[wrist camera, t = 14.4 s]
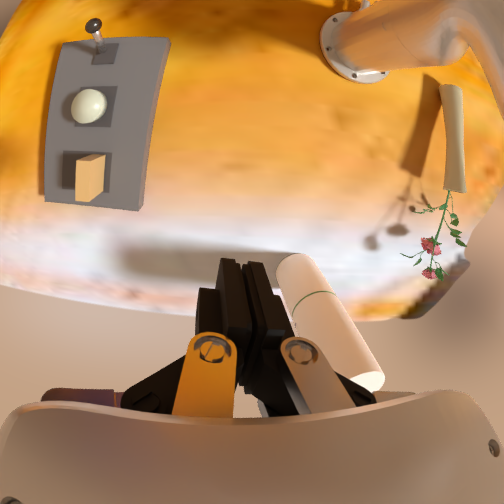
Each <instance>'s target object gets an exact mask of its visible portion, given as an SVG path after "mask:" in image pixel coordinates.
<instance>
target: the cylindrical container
mask: <svg viewBox="0 0 504 504" xmlns="http://www.w3.org/2000/svg"><path fill="white" fill-rule="evenodd" d="M276 278H277V281H278V284H279V286H280V289H281V292H282V294H283V297H284V299H285V302H286V304H287V307H288V310H289V312H290V315H291V317H292V320H293V323H294V325H295V328H296V330H297V333H298V335H299V337H302V338H306V339H308V340H310V341H312V342H314V343H315V344H316V345H317V346H318V347H319V348H320V349H321V351H322V353H323V354H324V356H325V357H326V359H327V361H328V362H329V364H330V365H331V367H332V369H333V370H334V371H335V372H337V373H339V374H341V375H342V376H344V377H346V378H348V379H350V380H351V381H353V382H355V383H357V384H359V385H360V386H362V387H364V388H366V389H367V390H369V391H370V392H371V393H372V392H373V391H378V390H379V389H380V388H381V386H382V385H383V383H384V381H385V376H384V374H383V372H382V370H381V368H380V366H379V365H378V363H377V361H376V360H375V358H374V356H373V355H372V353H371V352H370V349H369V348H368V346H367V344H366V343H365V341H364V339H363V338H362V336H361V334H360V333H359V331H358V330H357V328H356V326H355V325H354V323H353V321H352V320H351V318H350V316H349V315H348V313H347V312H346V310H345V308H344V307H343V305H342V304H341V302H340V300H339V299H338V297H337V296H336V294H335V293H334V291H333V289H332V288H331V286H330V285H329V283H328V282H327V280H326V279H325V277H324V276H323V274H322V272H321V271H320V269H319V268H318V266H317V265H316V263H315V262H314V260H313V259H312V258H311V257H310V256H308V255H306V254H301V253H297V254H292V255H290V256H288V257H286V258H285V259H283V260H282V261H281V263H280V264H279V265H278V267H277V270H276Z"/></svg>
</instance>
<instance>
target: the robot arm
mask: <svg viewBox="0 0 504 504" xmlns="http://www.w3.org/2000/svg"><path fill="white" fill-rule="evenodd" d="M320 46H321V50H322V52H323V55H324V57H325V58H326V60H327V62H328V63H329V64H330V65H331V67H332V68H333V69H334V70H335V71H336V72H337V73H338V74H340V75H341V76H343V77H344V78H346V79H348V80H350V81H352V82H356V83H360V84H371V83H376V82H379V81H381V80H383V79H384V78H385V77H386V76H387V75H388V73H389V72H390V71H392V70H399V69H408V68H418V67H430V66H445V65H450V64H453V63H455V62H457V61H458V60H459V59H461V57H462V56H463V55H464V54H465V52H466V51H467V49H468V47H469V46H470V47H471V48H472V50H473V52H474V54H475V56H476V57H477V59H478V61H479V62H480V64H481V66H482V68H483V70H484V73H485V75H486V77H487V80H488V82H489V84H490V87H491V89H492V92H493V94H494V97H495V100H496V103H497V105H498V108H499V111H500V113H501V116H502V118H503V120H504V0H380V1H375V2H374V4H373V5H371V6H370V2H368V1H366V0H361V4H360V9H358V10H357V11H355V12H340V13H337V14H335V15H333V16H331V17H330V18H328V19H327V20H326V21H325V22H324V24H323V26H322V28H321V31H320ZM326 48H327V49H328V51H327V49H326ZM352 76H353V77H352ZM195 326H196V327H195V336H194V337H193V338H192V339H191V341H190V343H189V345H188V349H187V353H186V355H184V356H183V357H181V358H179V359H178V360H176V361H174V362H173V363H171V364H170V365H168V366H166V367H165V368H163V369H161V370H160V371H158V372H156V373H154V374H153V375H151V376H149V377H147V378H146V379H144V380H142V381H140V382H139V383H137V384H135V385H134V386H132V387H130V388H129V389H127V390H126V391H125V392H119V393H118V392H114V390H113V389H110V390H109V389H106V390H105V389H103V390H101V389H100V390H99V389H71V388H52V389H50V390H48V391H46V393H45V394H44V395H43V396H42V398H41V402H34V403H29V404H25V405H22V406H20V407H18V408H16V409H15V410H14V411H12V412H11V413H10V414H9V416H8V417H7V418H6V420H5V422H4V423H3V425H2V427H1V429H0V504H504V448H503V446H502V444H501V442H500V440H499V438H498V436H497V434H496V433H495V431H494V429H493V427H492V426H491V424H490V422H489V420H488V419H487V417H486V416H485V414H484V413H483V411H482V410H481V408H480V407H479V405H478V404H477V403H476V402H475V400H474V399H473V398H472V397H471V396H470V395H468V394H466V393H464V392H461V391H454V390H435V391H427V392H423V393H419V394H415V393H413V392H388V391H373V392H372V393H371V392H370V391H369V390H367V389H366V388H364V387H362V386H360V385H359V384H357V383H355V382H353V381H351V380H350V379H348V378H346V377H344V376H342V375H341V374H339V373H337V372H335V371H334V370H333V369H332V367H331V365H330V364H329V362H328V361H327V359H326V357H325V356H324V354H323V353H322V351H321V349H320V348H319V347H318V346H317V345H316V344H315V343H314V342H312V341H310V340H308V339H306V338H302V337H295V335H294V332H293V330H292V327H291V324H290V321H289V319H288V316H287V313H286V311H285V308H284V305H283V303H282V300H281V298H280V296H278V295H274V294H273V291H272V288H271V286H270V283H269V280H268V277H267V274H266V271H265V268H264V265H263V263H260V262H252V261H249V262H248V264H243V266H242V270H241V267H240V264H239V263H236V262H235V259H227V258H221V260H220V265H219V270H218V276H217V282H216V287H215V289H209V288H199V293H198V301H197V309H196V324H195ZM238 383H239V386H244V392H245V394H252V395H253V396H255V397H256V398H258V401H257V403H258V407H259V410H260V413H261V415H262V418H233V406H234V393H235V390H236V387H237V384H238Z"/></svg>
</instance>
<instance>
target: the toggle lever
mask: <svg viewBox="0 0 504 504" xmlns="http://www.w3.org/2000/svg"><path fill="white" fill-rule="evenodd" d="M101 26H102V21H101V20H100V19H98V18H93V19H91V20H89V21H88V22H87V23H86V25H85V30H86V32H88V33H91V34H92V35H93V38H94V40H95V43H96V45H97V48H98V50H99V52H100V53H104V52H106V50H107V48H106V46H105V43H104V40H103V38H102V35H101V32H100V28H101Z"/></svg>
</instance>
